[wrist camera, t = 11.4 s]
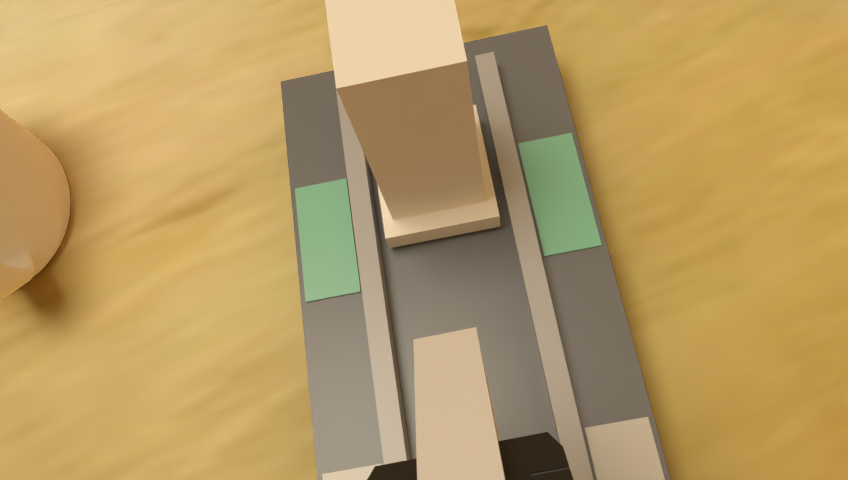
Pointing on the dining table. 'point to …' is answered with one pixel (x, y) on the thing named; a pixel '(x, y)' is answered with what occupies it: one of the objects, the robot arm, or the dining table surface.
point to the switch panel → (467, 282)
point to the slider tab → (413, 115)
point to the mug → (28, 205)
